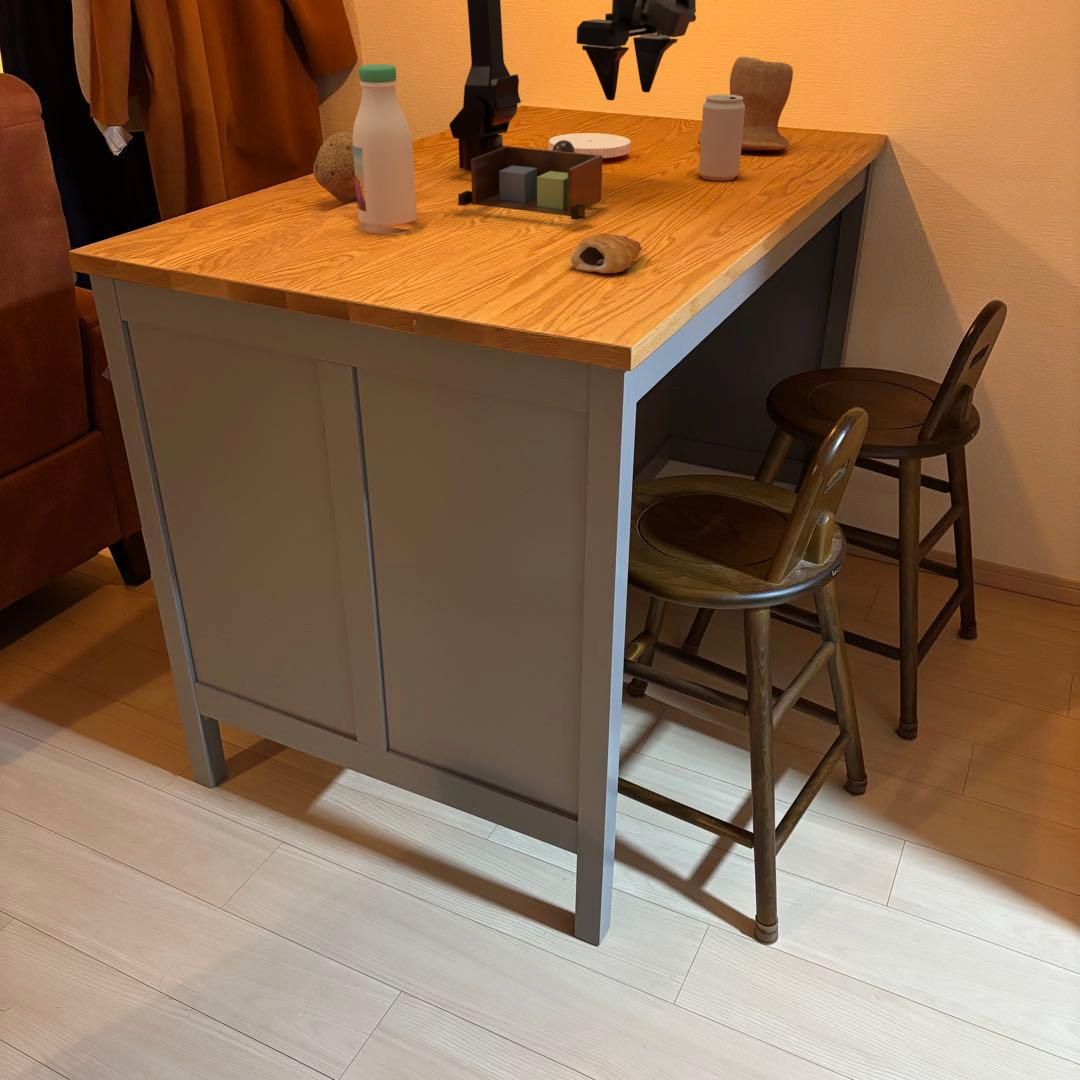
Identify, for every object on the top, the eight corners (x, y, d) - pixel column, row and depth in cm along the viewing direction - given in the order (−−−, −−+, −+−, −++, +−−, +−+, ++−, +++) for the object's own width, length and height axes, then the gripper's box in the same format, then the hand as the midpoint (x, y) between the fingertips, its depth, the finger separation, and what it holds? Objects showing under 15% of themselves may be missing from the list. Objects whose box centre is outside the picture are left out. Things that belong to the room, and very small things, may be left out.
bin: (472, 212, 150) (470, 152, 146) (522, 189, 161) (521, 134, 157) (571, 225, 144) (572, 163, 140) (615, 200, 156) (617, 142, 152)
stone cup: (791, 145, 192) (801, 54, 185) (784, 158, 183) (795, 62, 175) (707, 140, 196) (714, 50, 188) (696, 152, 186) (703, 58, 179)
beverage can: (737, 182, 166) (745, 100, 160) (696, 180, 168) (702, 98, 161) (739, 174, 172) (747, 93, 166) (699, 172, 173) (705, 92, 167)
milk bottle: (426, 223, 145) (418, 63, 135) (402, 237, 139) (391, 71, 129) (375, 218, 148) (363, 60, 137) (349, 232, 141) (334, 68, 131)
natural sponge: (305, 209, 152) (296, 135, 147) (336, 195, 159) (329, 124, 154) (362, 215, 149) (355, 139, 144) (391, 200, 156) (386, 128, 151)
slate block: (499, 200, 151) (498, 170, 149) (512, 194, 154) (512, 165, 152) (524, 203, 149) (524, 173, 147) (537, 197, 152) (537, 168, 150)
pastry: (607, 251, 134) (609, 220, 132) (655, 260, 131) (657, 229, 129) (566, 269, 127) (567, 236, 125) (614, 279, 124) (616, 246, 122)
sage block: (536, 206, 148) (536, 176, 146) (549, 200, 151) (549, 170, 149) (563, 209, 146) (563, 179, 144) (575, 203, 149) (575, 173, 147)
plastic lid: (646, 158, 182) (647, 142, 181) (580, 168, 175) (580, 152, 174) (597, 145, 192) (597, 130, 191) (532, 153, 185) (532, 138, 184)
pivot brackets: (455, 214, 150) (454, 193, 148) (463, 210, 151) (462, 190, 150) (581, 230, 142) (582, 209, 141) (588, 226, 144) (589, 205, 143)
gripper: (648, -22, 133) (641, 111, 141) (721, -29, 146) (710, 94, 154) (575, -27, 139) (572, 102, 147) (652, -32, 152) (645, 86, 160)
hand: (628, 96), depth 152 cm, fingers open, 9 cm apart
